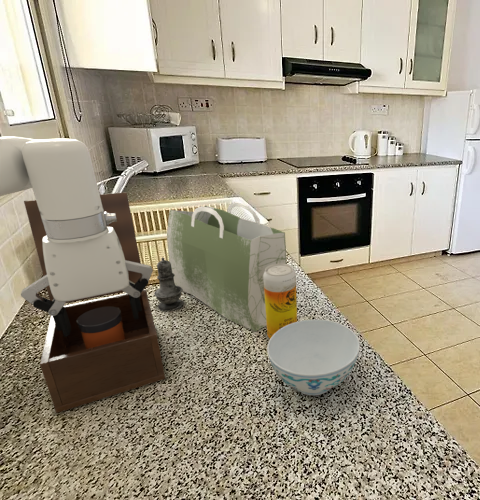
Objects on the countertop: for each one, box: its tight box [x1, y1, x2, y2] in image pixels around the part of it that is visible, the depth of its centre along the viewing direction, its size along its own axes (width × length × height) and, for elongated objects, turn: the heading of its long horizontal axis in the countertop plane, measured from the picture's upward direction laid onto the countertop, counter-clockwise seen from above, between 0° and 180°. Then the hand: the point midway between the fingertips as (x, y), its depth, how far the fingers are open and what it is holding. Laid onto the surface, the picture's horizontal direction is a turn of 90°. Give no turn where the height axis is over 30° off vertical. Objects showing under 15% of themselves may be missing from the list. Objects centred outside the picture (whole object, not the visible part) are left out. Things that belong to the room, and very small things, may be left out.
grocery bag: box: [166, 201, 287, 332], centre depth 86 cm, size 32×14×23 cm, turn 53°
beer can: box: [263, 263, 298, 340], centre depth 73 cm, size 6×6×15 cm
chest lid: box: [23, 191, 142, 305], centre depth 68 cm, size 19×15×1 cm
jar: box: [77, 306, 126, 349], centre depth 63 cm, size 6×6×10 cm
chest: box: [39, 288, 166, 414], centre depth 65 cm, size 18×15×9 cm
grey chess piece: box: [153, 257, 184, 312], centre depth 84 cm, size 6×6×12 cm
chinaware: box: [266, 318, 361, 396], centre depth 62 cm, size 15×15×8 cm
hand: (103, 323), depth 62 cm, fingers open, 9 cm apart
